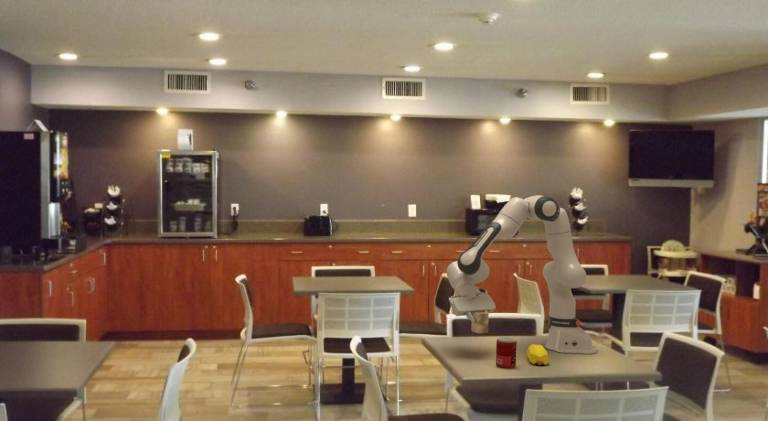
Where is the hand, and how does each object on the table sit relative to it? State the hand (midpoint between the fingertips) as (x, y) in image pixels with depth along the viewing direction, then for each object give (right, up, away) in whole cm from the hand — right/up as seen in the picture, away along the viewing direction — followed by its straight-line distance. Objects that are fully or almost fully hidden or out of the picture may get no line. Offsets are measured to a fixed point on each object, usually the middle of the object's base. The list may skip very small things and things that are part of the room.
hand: (480, 321), depth 314 cm
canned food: (+8, -16, -13) cm, 22 cm away
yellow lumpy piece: (+23, -17, -3) cm, 29 cm away
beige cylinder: (0, -4, +1) cm, 4 cm away
